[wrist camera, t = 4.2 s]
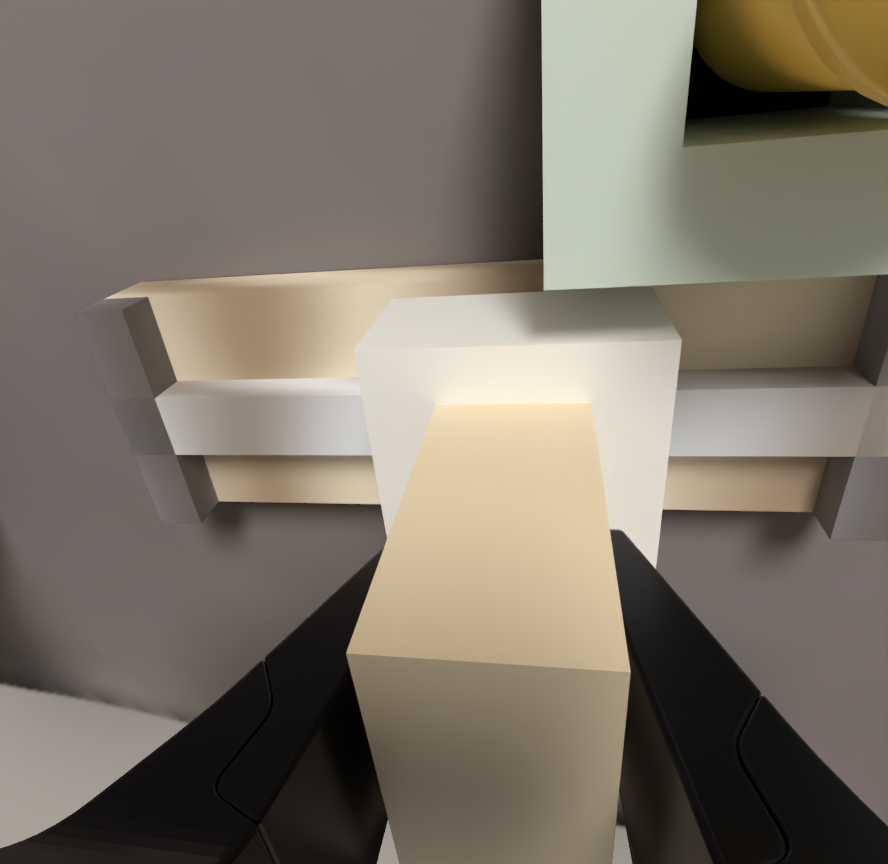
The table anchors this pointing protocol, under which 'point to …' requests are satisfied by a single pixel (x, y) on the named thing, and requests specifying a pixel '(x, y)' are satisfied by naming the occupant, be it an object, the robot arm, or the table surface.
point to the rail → (371, 290)
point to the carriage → (508, 563)
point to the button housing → (693, 165)
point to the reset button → (796, 44)
